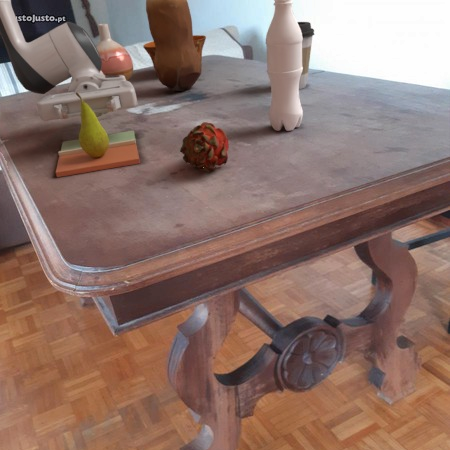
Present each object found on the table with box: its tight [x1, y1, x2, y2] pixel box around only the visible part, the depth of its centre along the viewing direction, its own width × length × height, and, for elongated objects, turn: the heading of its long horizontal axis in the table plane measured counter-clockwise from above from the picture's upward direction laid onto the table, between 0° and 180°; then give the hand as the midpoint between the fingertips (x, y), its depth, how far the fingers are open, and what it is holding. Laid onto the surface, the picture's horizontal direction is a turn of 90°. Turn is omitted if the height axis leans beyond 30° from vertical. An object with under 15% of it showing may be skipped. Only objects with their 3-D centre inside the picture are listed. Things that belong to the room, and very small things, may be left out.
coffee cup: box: [297, 21, 315, 90], centre depth 126 cm, size 11×11×15 cm
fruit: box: [76, 92, 109, 158], centre depth 91 cm, size 6×6×12 cm
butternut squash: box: [145, 0, 203, 92], centre depth 133 cm, size 14×13×25 cm
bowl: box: [142, 34, 207, 69], centre depth 160 cm, size 21×21×10 cm
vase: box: [95, 23, 134, 81], centre depth 150 cm, size 14×14×18 cm
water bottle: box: [265, 0, 304, 132], centre depth 94 cm, size 7×7×25 cm
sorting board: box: [55, 129, 140, 178], centre depth 99 cm, size 16×20×2 cm
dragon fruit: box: [179, 121, 230, 173], centre depth 85 cm, size 8×8×12 cm
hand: (87, 111), depth 93 cm, fingers open, 8 cm apart
